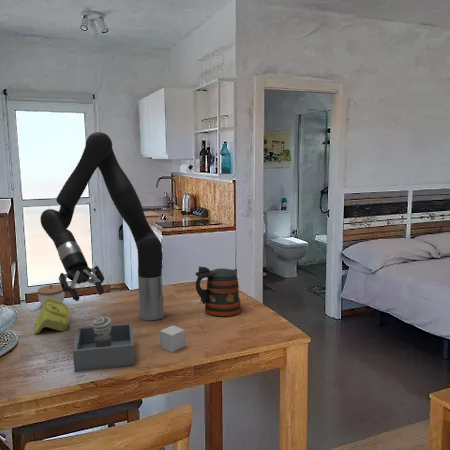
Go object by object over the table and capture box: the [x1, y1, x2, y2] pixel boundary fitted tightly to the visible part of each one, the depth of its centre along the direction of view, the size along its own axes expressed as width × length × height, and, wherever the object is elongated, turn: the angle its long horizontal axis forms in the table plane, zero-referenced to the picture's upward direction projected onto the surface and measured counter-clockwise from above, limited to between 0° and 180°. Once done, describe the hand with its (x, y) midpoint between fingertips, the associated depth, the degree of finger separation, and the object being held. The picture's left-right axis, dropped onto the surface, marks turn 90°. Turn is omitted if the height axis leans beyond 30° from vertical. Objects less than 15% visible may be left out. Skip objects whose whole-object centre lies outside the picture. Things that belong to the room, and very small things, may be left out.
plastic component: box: [34, 298, 70, 335], centre depth 174 cm, size 20×7×10 cm
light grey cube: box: [159, 325, 186, 353], centre depth 154 cm, size 6×6×6 cm
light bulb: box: [92, 316, 112, 348], centre depth 147 cm, size 6×6×12 cm
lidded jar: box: [37, 284, 66, 306], centre depth 192 cm, size 11×11×9 cm
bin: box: [72, 322, 136, 372], centre depth 148 cm, size 18×18×6 cm
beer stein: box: [195, 266, 242, 317], centre depth 184 cm, size 19×15×20 cm
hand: (90, 296), depth 152 cm, fingers open, 8 cm apart
